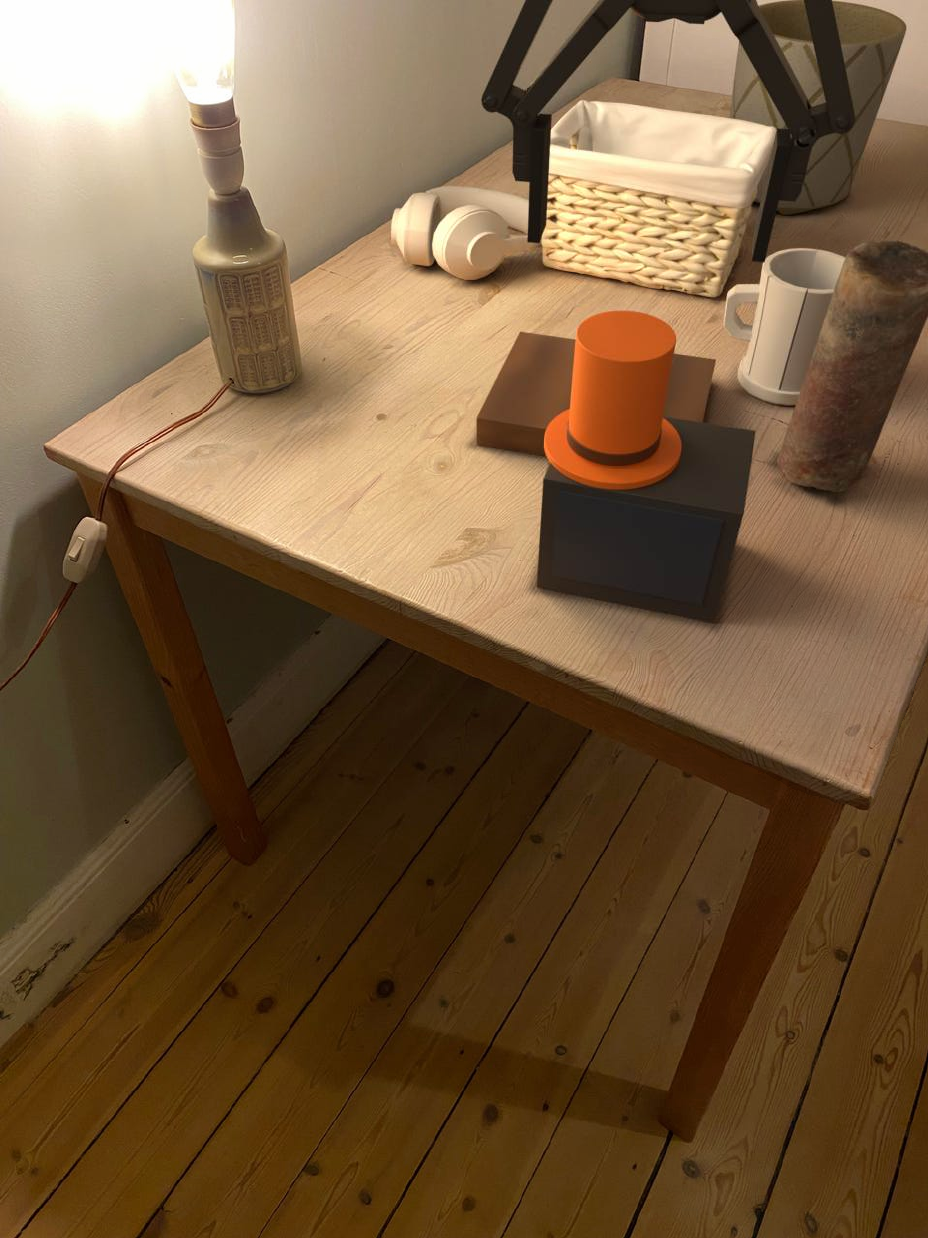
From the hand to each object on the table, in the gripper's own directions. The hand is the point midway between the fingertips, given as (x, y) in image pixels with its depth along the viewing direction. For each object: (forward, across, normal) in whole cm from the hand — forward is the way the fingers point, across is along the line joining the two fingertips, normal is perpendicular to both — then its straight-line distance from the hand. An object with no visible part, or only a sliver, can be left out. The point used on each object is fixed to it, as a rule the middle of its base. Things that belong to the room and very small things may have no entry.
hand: (645, 243), depth 56 cm
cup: (+26, -14, -29) cm, 41 cm away
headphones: (+26, +23, -51) cm, 62 cm away
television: (+26, -2, +1) cm, 26 cm away
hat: (+15, 0, 0) cm, 15 cm away
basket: (+26, +2, -53) cm, 59 cm away
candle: (+26, -18, -14) cm, 35 cm away
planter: (+26, -15, -78) cm, 83 cm away
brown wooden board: (+26, +3, -20) cm, 33 cm away
